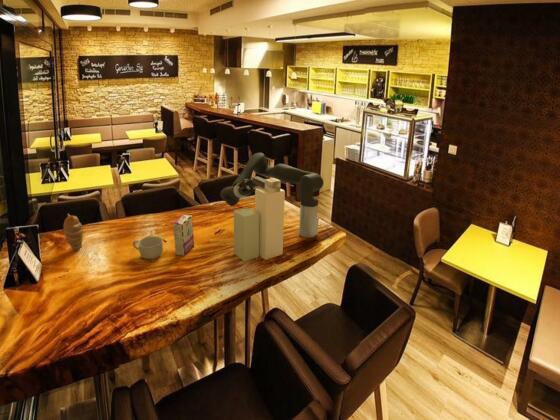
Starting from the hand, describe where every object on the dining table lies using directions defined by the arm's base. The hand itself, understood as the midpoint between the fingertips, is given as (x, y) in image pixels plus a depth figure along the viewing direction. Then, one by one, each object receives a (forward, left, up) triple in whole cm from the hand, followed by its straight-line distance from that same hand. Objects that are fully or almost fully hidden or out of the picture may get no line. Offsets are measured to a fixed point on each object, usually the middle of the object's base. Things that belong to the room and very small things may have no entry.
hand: (259, 180), depth 179 cm
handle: (0, +4, -2) cm, 5 cm away
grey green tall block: (+10, +4, -34) cm, 36 cm away
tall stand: (0, +8, -34) cm, 35 cm away
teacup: (+48, -20, -35) cm, 63 cm away
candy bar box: (+32, -16, -35) cm, 50 cm away
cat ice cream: (+74, -44, -35) cm, 93 cm away
